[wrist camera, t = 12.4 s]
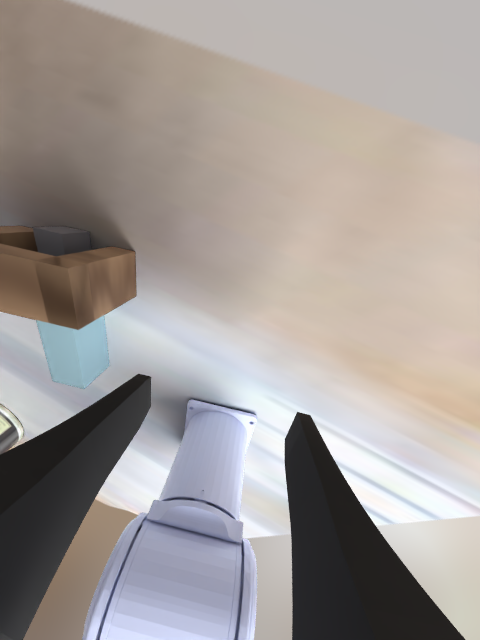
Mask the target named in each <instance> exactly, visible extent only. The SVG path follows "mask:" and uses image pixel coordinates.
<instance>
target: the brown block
mask: <svg viewBox="0 0 480 640" xmlns="http://www.w3.org/2000/svg"><path fill="white" fill-rule="evenodd" d="M134 297H136V262H135V251H130V250H126V249H121V248H117V247H113V246H112V247H106V248H100V249H95V250H89V251H84V252H78V253H72V254H67V255H61V256H52V255H48V254H43V253H39V252H38V250H37V245H36V241H35V237H34V232H33V228H29V227H24V226H0V312H4V313H9V314H13V315H17V316H21V317H25V318H30V319H34V320H38V321H42V322H46V323H51V324H55V325H59V326H63V327H68V328H72V329H76V330H80V329H81V328H83V327H85V326H86V325H88V324H90V323H91V322H93V321H95V320H97V319H98V318H100V317H102V316H103V315H105V314H107V313H108V312H110V311H112V310H114V309H115V308H117V307H119V306H120V305H122V304H124V303H126V302H127V301H129V300H131V299H132V298H134Z"/></svg>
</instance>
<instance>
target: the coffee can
mask: <svg viewBox="0 0 480 640" xmlns="http://www.w3.org/2000/svg"><path fill="white" fill-rule="evenodd" d="M23 435H24V430H23V427H22V425H21V423H20V421H19V420H18V419H17V418H16V417H15V416H14V415H13V414H12V413H11V412H10V411H9V410H8V409H6V408H5V407H4V406H2V405H1V404H0V454H2V453H5V452H6V451H8V450H9V449H10V448H11V447H12V446H13V445H14V444H15V443H17V442H18V441H20V440H21V439H22V437H23Z"/></svg>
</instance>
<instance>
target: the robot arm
mask: <svg viewBox="0 0 480 640" xmlns="http://www.w3.org/2000/svg"><path fill="white" fill-rule="evenodd" d="M150 407H151V377H149V376H145V375H141V374H138V375H136V376H134V377H133V378H131V379H130V380H129V381H127V382H126V383H124V384H123V385H121V386H120V387H118V388H117V389H115V390H114V391H112V392H111V393H109V394H108V395H106V396H105V397H103V398H102V399H100V400H99V401H97V402H96V403H94V404H93V405H91V406H89V407H88V408H86V409H84V410H83V411H81V412H79V413H78V414H76V415H74V416H73V417H71V418H69V419H68V420H66V421H64V422H63V423H61V424H59V425H57V426H56V427H54V428H52V429H50V430H48V431H46V432H45V433H43V434H41V435H39V436H37V437H35V438H33V439H31V440H29V441H27V442H25V443H23V444H21V445H19V446H17V447H15V448H13V449H11V450H9V451H7V452H5V453H2V454H0V640H23V638H24V636H25V634H26V632H27V630H28V628H29V625H30V624H31V622H32V619H33V618H34V615H35V613H36V611H37V609H38V607H39V605H40V603H41V601H42V599H43V597H44V595H45V593H46V591H47V589H48V587H49V585H50V583H51V581H52V579H53V577H54V575H55V573H56V571H57V569H58V567H59V565H60V563H61V561H62V559H63V557H64V555H65V553H66V552H67V550H68V548H69V546H70V544H71V542H72V540H73V538H74V536H75V534H76V532H77V531H78V529H79V527H80V525H81V523H82V521H83V519H84V517H85V516H86V514H87V512H88V510H89V508H90V506H91V505H92V503H93V501H94V499H95V498H96V496H97V494H98V492H99V490H100V488H101V487H102V485H103V484H104V482H105V480H106V479H107V477H108V475H109V474H110V472H111V471H112V469H113V468H114V466H115V465H116V463H117V462H118V460H119V459H120V457H121V456H122V454H123V453H124V451H125V450H126V448H127V447H128V445H129V444H130V442H131V440H132V439H133V437H134V436H135V434H136V433H137V431H138V430H139V428H140V426H141V424H142V422H143V421H144V419H145V417H146V415H147V413H148V411H149V409H150ZM251 421H252V422H251ZM256 422H257V416H256V415H254V414H250V413H246V412H242V411H238V410H234V409H229V408H225V407H221V406H217V405H213V404H209V403H205V402H201V401H196V400H189V402H188V405H187V413H186V422H185V431H184V437H183V439H182V442H181V444H180V447H179V450H178V452H177V455H176V457H175V460H174V462H173V465H172V467H171V470H170V473H169V475H168V478H167V480H166V483H165V485H164V488H163V490H162V493H161V496H160V498H159V500H154V501H153V503H152V506H151V508H150V511H149V513H148V514H147V513H140V514H139V515H138V516H137V517H136V518H135V519H133V520H132V521H131V522H130V523H129V524H128V525H127V526H126V528H125V529H124V531H123V533H122V534H121V536H120V538H119V540H118V542H117V544H116V545H115V547H114V549H113V551H112V553H111V555H110V558H109V560H108V562H107V564H106V567H105V569H104V571H103V573H102V576H101V578H100V581H99V583H98V586H97V588H96V591H95V593H94V596H93V599H92V602H91V605H90V608H89V611H88V614H87V618H86V622H85V627H84V635H83V638H82V640H253V639H254V631H255V620H256V619H255V618H256V604H257V565H256V557H255V554H254V551H253V549H252V547H251V544H250V542H249V540H248V539H244V538H242V533H243V522H240V521H239V517H240V507H241V497H242V487H243V476H244V466H245V456H246V451H247V448H248V445H249V442H250V439H251V436H252V433H253V430H254V428H255V425H256ZM285 471H286V482H287V492H288V502H289V512H290V522H291V537H292V587H293V588H292V590H293V591H292V593H293V626H292V628H293V629H292V630H293V632H292V636H293V637H292V640H465V639H464V637H463V636H462V635H461V634H460V633H459V632H458V631H457V629H456V628H455V627H454V626H453V625H452V623H451V622H450V621H449V620H448V619H447V617H446V616H445V615H444V614H443V613H442V611H441V610H440V609H439V608H438V606H437V605H436V604H435V603H434V602H433V600H432V599H431V598H430V597H429V595H427V593H426V592H425V591H424V589H423V588H422V587H421V586H420V584H419V583H418V582H417V580H416V579H415V578H414V577H413V575H412V574H411V573H410V571H409V570H408V569H407V568H406V566H405V565H404V564H403V562H402V561H401V560H400V558H399V557H398V556H397V554H396V553H395V552H394V551H393V549H392V548H391V547H390V545H389V544H388V543H387V541H386V540H385V539H384V537H383V536H382V534H381V533H380V531H379V530H378V529H377V527H376V526H375V524H374V523H373V521H372V520H371V519H370V517H369V516H368V514H367V513H366V511H365V510H364V508H363V507H362V505H361V504H360V502H359V501H358V499H357V497H356V496H355V494H354V493H353V491H352V489H351V488H350V486H349V485H348V483H347V481H346V480H345V478H344V476H343V475H342V473H341V471H340V469H339V468H338V466H337V464H336V462H335V461H334V459H333V457H332V455H331V454H330V452H329V450H328V448H327V446H326V444H325V443H324V441H323V439H322V437H321V435H320V433H319V431H318V429H317V427H316V425H315V423H314V421H313V419H312V418H311V416H310V415H307V414H303V413H299V412H297V414H296V416H295V419H294V421H293V423H292V425H291V427H290V429H289V432H288V434H287V436H286V438H285Z"/></svg>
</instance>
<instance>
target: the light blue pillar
mask: <svg viewBox="0 0 480 640" xmlns="http://www.w3.org/2000/svg"><path fill="white" fill-rule="evenodd" d="M32 228H33V232H34V237H35V241H36V245H37V250H38V252H39V253H43V254H48V255H52V256H61V255H67V254H72V253H78V252H84V251H89V250H92V249H91V241H90V233H89V232H88V231H83V230H79V229H75V228H70V227H66V226H53V227H32ZM36 322H37V325H38V329H39V333H40V336H41V340H42V344H43V347H44V351H45V355H46V358H47V362H48V366H49V369H50V373H51V377H52V380H53V381H54V382H58V383H62V384H66V385H70V386H74V387H78V388H82V389H85V388H86V387H87V386H88V385H89V384H90V383H91V382H92V381H94V380H95V379H96V378H97V377H98V376H99V375H100V374H101V373H102V372H103V371H104V370H105V369H107V368H108V367H109V356H108V347H107V338H106V328H105V319H104V315H103V316H102V317H100V318H98V319H97V320H95V321H93V322H91V323H90V324H88V325H86V326H85V327H83V328H81V329H80V330H76V329H72V328H68V327H63V326H59V325H55V324H51V323H46V322H42V321H38V320H36Z"/></svg>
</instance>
